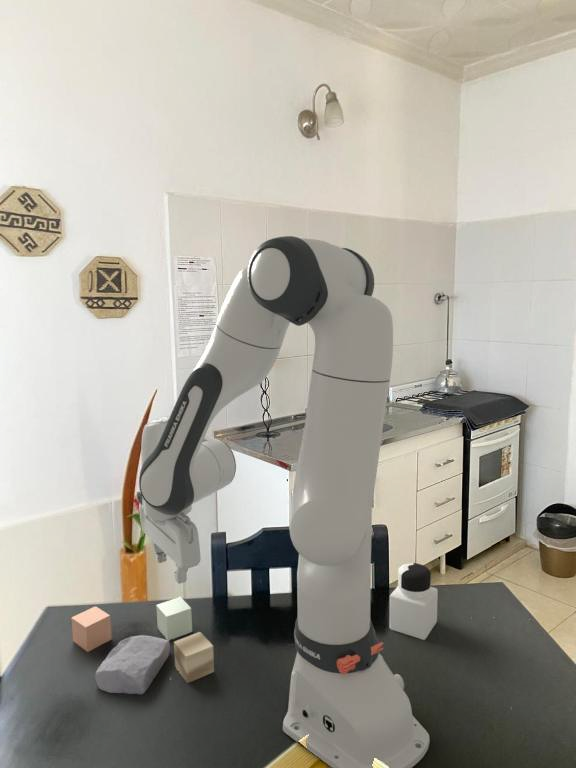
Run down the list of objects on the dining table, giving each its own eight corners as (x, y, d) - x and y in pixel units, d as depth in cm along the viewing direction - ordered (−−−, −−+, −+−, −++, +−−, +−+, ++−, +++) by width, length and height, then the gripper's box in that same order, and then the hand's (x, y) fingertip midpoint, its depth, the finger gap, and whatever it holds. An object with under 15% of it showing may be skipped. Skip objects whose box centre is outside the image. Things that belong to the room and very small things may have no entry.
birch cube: (214, 672, 99) (213, 645, 98) (187, 683, 96) (185, 656, 95) (201, 657, 103) (200, 631, 102) (175, 667, 100) (173, 641, 100)
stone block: (92, 701, 95) (147, 697, 93) (85, 674, 95) (140, 669, 93) (126, 658, 107) (175, 654, 105) (120, 634, 106) (170, 629, 104)
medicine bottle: (437, 622, 112) (438, 564, 110) (425, 641, 106) (426, 580, 104) (402, 611, 116) (403, 556, 114) (388, 629, 110) (389, 571, 108)
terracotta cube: (111, 639, 109) (109, 615, 108) (87, 652, 105) (85, 627, 104) (97, 629, 112) (95, 606, 111) (73, 642, 108) (71, 617, 107)
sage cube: (192, 631, 111) (191, 608, 110) (167, 641, 108) (166, 616, 107) (181, 619, 115) (180, 596, 114) (157, 628, 112) (156, 604, 111)
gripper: (208, 516, 101) (210, 589, 103) (163, 483, 117) (165, 547, 120) (174, 524, 97) (177, 600, 99) (132, 489, 114) (135, 555, 116)
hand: (170, 570), depth 110 cm, fingers open, 8 cm apart
